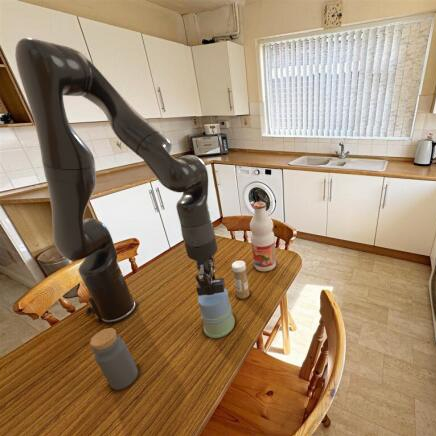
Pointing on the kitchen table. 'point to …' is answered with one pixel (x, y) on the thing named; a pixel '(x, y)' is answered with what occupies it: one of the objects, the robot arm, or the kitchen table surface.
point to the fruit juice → (262, 238)
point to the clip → (218, 287)
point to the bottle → (114, 358)
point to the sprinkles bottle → (240, 279)
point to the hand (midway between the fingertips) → (211, 289)
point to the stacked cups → (216, 314)
